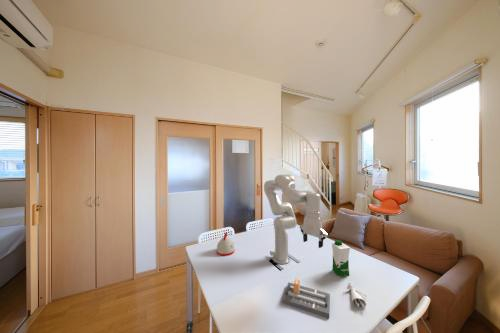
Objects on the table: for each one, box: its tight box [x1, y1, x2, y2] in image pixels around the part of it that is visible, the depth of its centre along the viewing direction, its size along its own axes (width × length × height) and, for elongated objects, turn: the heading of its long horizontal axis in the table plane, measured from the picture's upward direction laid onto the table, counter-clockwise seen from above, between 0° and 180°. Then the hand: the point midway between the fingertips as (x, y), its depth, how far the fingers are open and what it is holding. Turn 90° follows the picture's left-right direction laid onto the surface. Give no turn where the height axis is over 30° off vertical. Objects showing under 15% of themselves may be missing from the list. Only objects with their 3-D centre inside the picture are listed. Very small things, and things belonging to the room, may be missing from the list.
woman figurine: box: [342, 282, 368, 309], centre depth 95 cm, size 12×4×18 cm
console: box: [281, 281, 331, 319], centre depth 94 cm, size 22×14×3 cm, turn 65°
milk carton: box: [331, 239, 351, 278], centre depth 116 cm, size 9×9×20 cm
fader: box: [293, 278, 301, 295], centre depth 96 cm, size 3×4×6 cm
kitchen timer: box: [216, 231, 235, 257], centre depth 145 cm, size 14×14×15 cm
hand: (312, 244), depth 104 cm, fingers open, 9 cm apart
